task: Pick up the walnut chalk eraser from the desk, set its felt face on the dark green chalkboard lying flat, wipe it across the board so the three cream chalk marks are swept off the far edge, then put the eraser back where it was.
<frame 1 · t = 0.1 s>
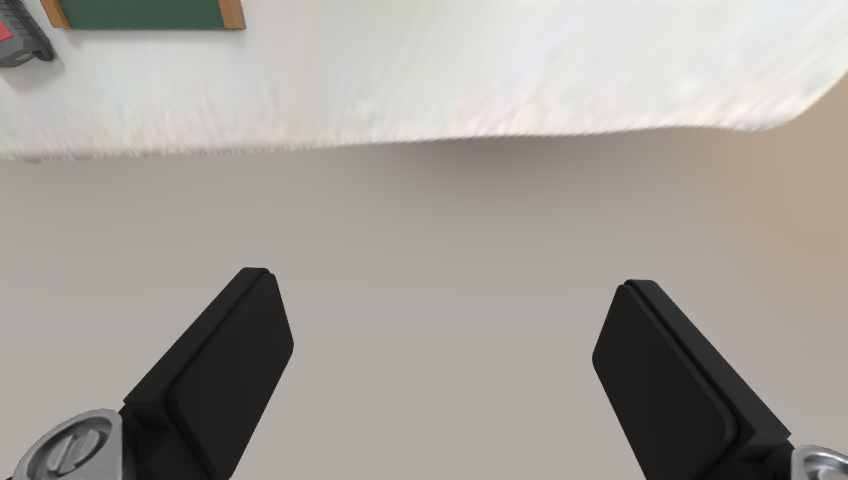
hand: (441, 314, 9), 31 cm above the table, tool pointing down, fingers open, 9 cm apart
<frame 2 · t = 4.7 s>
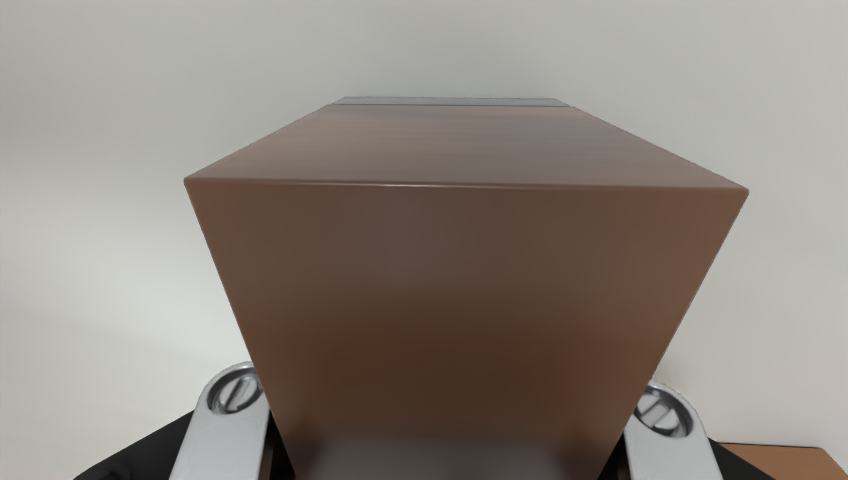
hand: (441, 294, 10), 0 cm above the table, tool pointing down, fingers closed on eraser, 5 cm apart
eraser: (441, 285, 11), on the table, touching gripper
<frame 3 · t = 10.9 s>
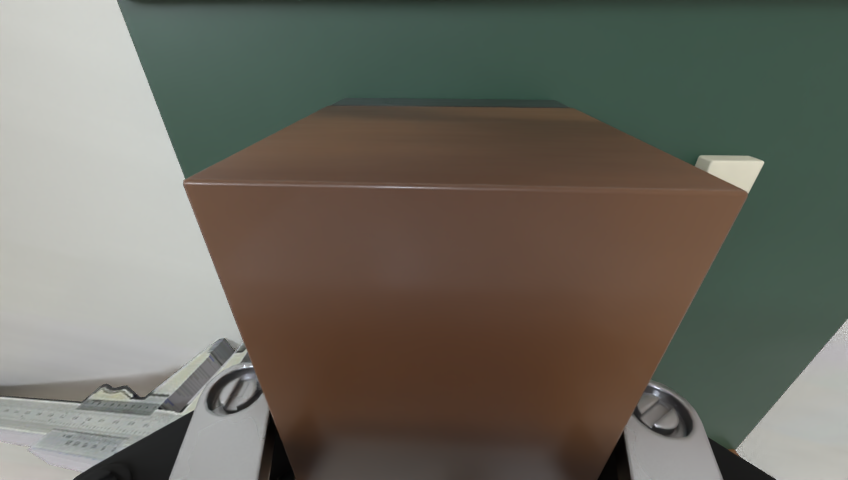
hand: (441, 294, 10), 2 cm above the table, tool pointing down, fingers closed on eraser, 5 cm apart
chalkboard: (521, 276, 12), on the table
eraser: (441, 285, 11), point 1 cm above the table, touching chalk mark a, gripper
chalk mark c: (703, 200, 9), point 1 cm above the table, touching chalkboard
caliper: (84, 369, 16), on the table
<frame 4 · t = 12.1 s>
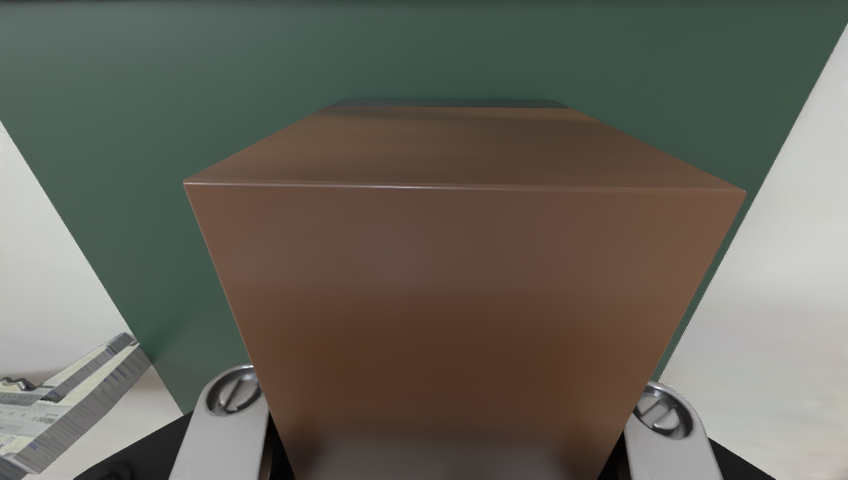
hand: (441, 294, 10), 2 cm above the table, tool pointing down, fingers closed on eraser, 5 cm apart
chalkboard: (392, 268, 12), on the table
eraser: (441, 286, 11), point 1 cm above the table, touching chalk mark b, chalk mark c, gripper
caliper: (0, 364, 16), on the table
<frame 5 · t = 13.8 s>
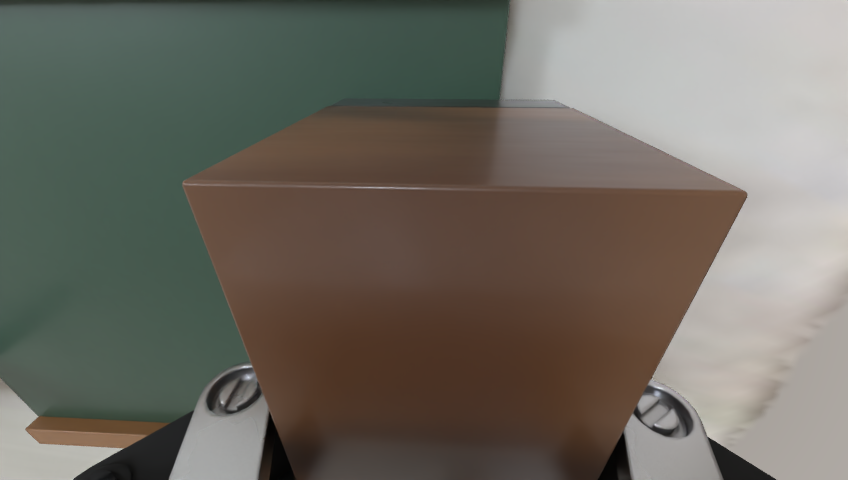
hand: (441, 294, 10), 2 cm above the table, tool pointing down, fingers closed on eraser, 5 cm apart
chalkboard: (201, 268, 12), on the table
eraser: (441, 286, 11), point 1 cm above the table, touching chalkboard, gripper
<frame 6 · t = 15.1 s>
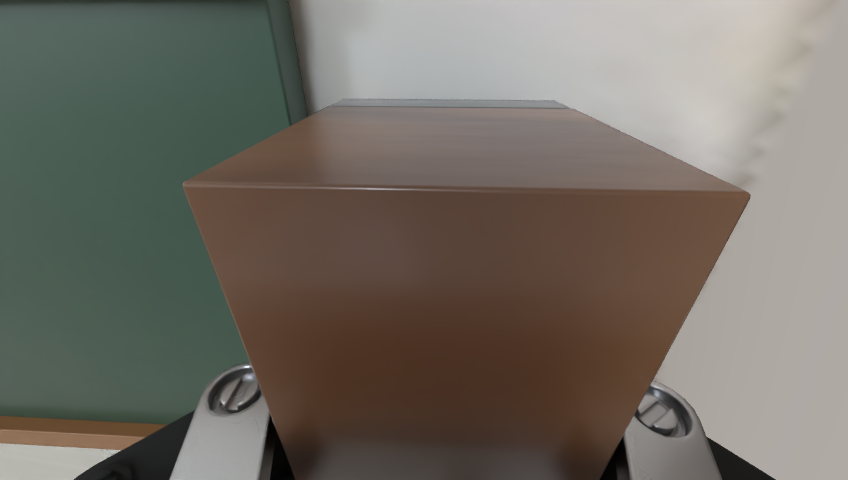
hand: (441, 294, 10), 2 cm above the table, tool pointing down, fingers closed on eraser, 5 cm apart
chalkboard: (68, 265, 12), on the table
eraser: (441, 286, 10), point 1 cm above the table, touching gripper
when the fingers open (0 cm above the table, at t = 21.5 s): eraser stays where it is, on the table.
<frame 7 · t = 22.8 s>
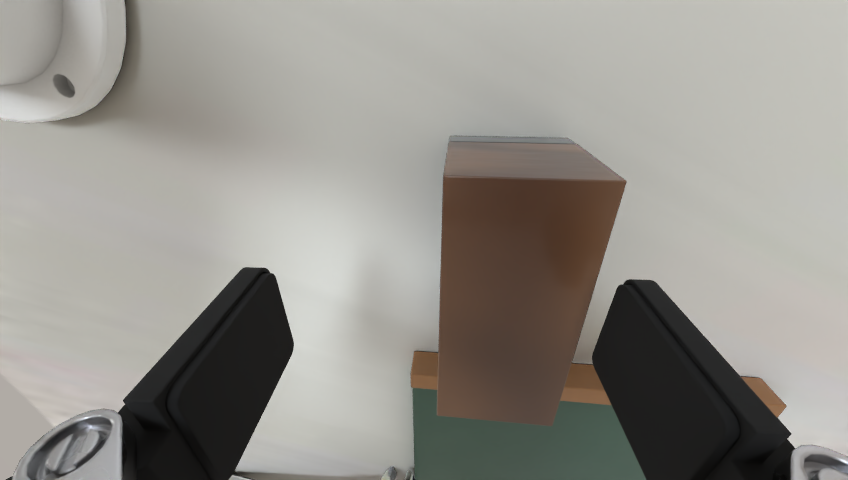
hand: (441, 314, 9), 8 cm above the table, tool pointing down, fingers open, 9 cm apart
chalkboard: (551, 451, 24), on the table
eraser: (495, 248, 17), on the table
caliper: (305, 469, 30), on the table
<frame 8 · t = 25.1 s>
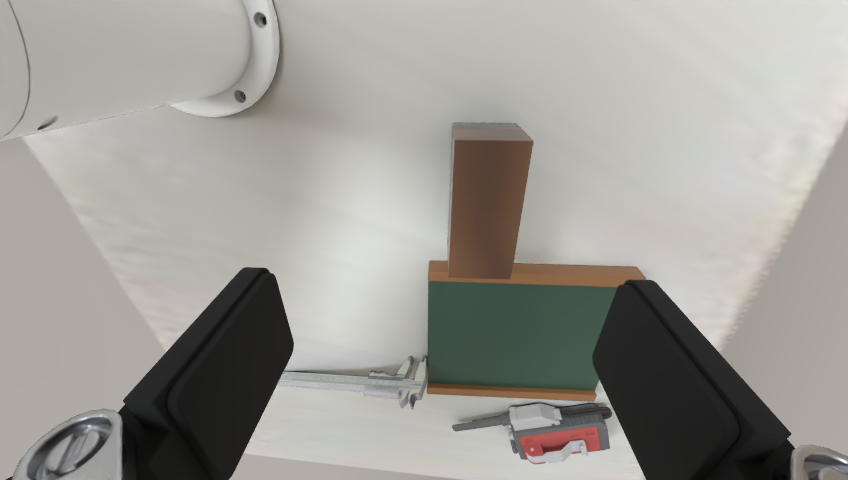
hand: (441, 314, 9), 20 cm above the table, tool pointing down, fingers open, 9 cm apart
chalkboard: (517, 331, 37), on the table
eraser: (478, 188, 29), on the table
toy chainsaw: (529, 419, 45), on the table
caliper: (347, 364, 42), on the table
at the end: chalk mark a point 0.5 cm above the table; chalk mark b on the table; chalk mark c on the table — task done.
